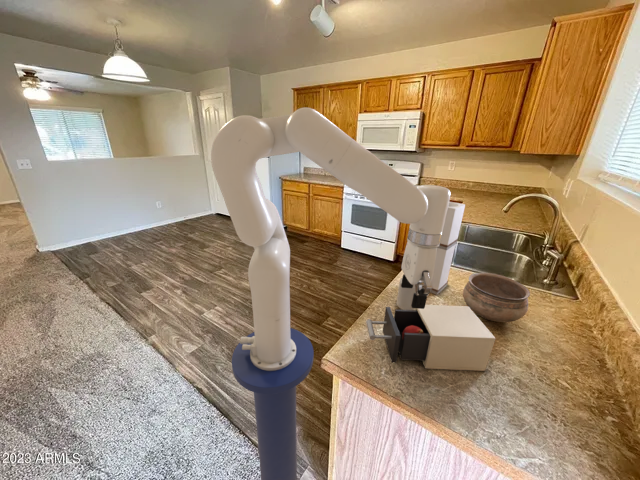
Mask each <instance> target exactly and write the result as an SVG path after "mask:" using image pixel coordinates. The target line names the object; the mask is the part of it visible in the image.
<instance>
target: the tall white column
mask: <svg viewBox="0 0 640 480" xmlns="http://www.w3.org/2000/svg"><path fill="white" fill-rule="evenodd" d="M465 208H466V204H465V203H459V202H453V201H449V205H448V209H447V214H446V218H445V223H444V227H443V231H442V236H441V240H440V245H439V247H437V251H436V260H435V266H434V272H433V277H432V280H431V284H432V289H431V291H430V293H431V294H434V295H439V294H440V293H441V292H442V291H443V290H444V289H445V288H446V287H447V286H448V283H449V276H450V271H451V266H452V261H453V258H454V253H455V249H456V247H457V244H458V239H459V235H460V230H461V225H462V221H463V218H464V213H465ZM421 282H423V281H421ZM423 287H424V286H422V288H421V289H423Z"/></svg>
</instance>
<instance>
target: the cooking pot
mask: <svg viewBox="0 0 640 480" xmlns="http://www.w3.org/2000/svg"><path fill="white" fill-rule="evenodd" d="M530 296H531V292H530V289H529V288H528V287H526V285H524V284H523V283H520V281H517V280H515V279H512V278H510V277H507V276H504V275H500V274H495V273H491V272H474V273H471V274H470V275H469V276H468V281H467V282H466V284H465V286H464V287H463V289H462V297H463V300H464V303H465V304H466V306H469V308H470V309H471V310H472V311H473V312H474V314H476V315H478V316H480V317H481V318H483V319H485V320H487V321H490V322H498V323H512V322H516V321H518V320H520V319H522V318H524V317H525V315H526V314H527V313H528V311H529V298H530Z"/></svg>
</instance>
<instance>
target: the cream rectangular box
mask: <svg viewBox="0 0 640 480" xmlns="http://www.w3.org/2000/svg"><path fill="white" fill-rule="evenodd" d="M415 310H417V311H418V313H419V315H420V317H421V319H422V321H423V322H424V324H425V326H426V328H427V330H428V332H429V334H430V336H431V337H430V342H429V346H428V351H427V355H426V360H425V361H424V360H421V362H422V364H423V367H424V368H425V369H432V370H434V369H435V370H457V371H476V372H477V371H481V372H486V369H487V367H488V364H489V360H490V357H491V354H492V351H493V348H494V344H495V342H496V337H495V336H494V335H493V333H492V332H491V331H490V330H489V329H488V327H487V326H486V325H485V324H484V323H483V322H482V320H481V319H480V318H479V317H478V316H477V314H476V313H475V312H474V311H472V310H471V309H470V308H469V306H467V305H449V304H447V305H446V304H445V305H444V304H425V308H424V309H418V308H415Z"/></svg>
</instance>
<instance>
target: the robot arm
mask: <svg viewBox="0 0 640 480" xmlns="http://www.w3.org/2000/svg"><path fill="white" fill-rule="evenodd" d="M211 146H212V147H211V151H210V161H211V167H212V171H213V175H214V177H215V180H216V182H217V185H218V188H219V189H220V192H221V195H222V198H223V201H224V203H225V207H226V209H227V212H228V214H229V217H230V219H231V222H232V225H233V227H234V230H235V233H236V235H237V237H238V238H239V240H240V241H241V242H242V243H243V244H245V245H246V246H248V247H252V248H253V250H254V251H253V253H252V256H251V257H250V260H249V264H248V269H247V276H248V277H247V278H248V284H249V289H250V296H251V307H252V316H253V317H252V319H253V330H254V331H253V332H254V333H255V336H253V337H246V336H241V337H240V340H239V343H240V344H243V346H242V350H251V351H250V358H251V361H252V363H253V364H254V365H255V366H256V367H257V368H259V369H262V370H266V371H274V370H279V369H282V368H284V367H286V366H288V365H289V364H290V363H291V362H292V361H293V360H294V358H295V356H296V345H295V343H294V341H293V340H292V339H291V336H290V328H291V289H290V288H291V287H290V278H291V277H290V276H291V274H290V273H291V248H290V244H289V240H288V238H287V237H288V236H287V233H286V231H285V228H284V224H283V222H282V218H281V215H280V213H279V211H278V210H279V209H278V208H277V206H276V205H275V203H274V202H272V201H271V200H269V199H268V198H266V196H265V193H264V190H263V186H262V182H261V180H260V178H259V176H258V173H257V169H256V165H257V162H258V161H259V160H261V159H263V158H269V157H274V156H281V155H287V154H288V155H289V154H295V153H298V152H299V153H301V154H302V155H303V156H305V158H307V159H309V161H311V162H313V163H315V164H316V165H318V166H319V167H320V168H322V169H323V170H324V171H326V172H327V173H328V174H330V175H331V176H333V177H334V178H335V179H337V180H338V181H340V182H341V183H342V184H343V185H345V186H346V187H348V188H350V189H351V190H353V191H355V192H357V193H358V194H361V195H362V196H363V197H364V198H366V199H367V200H369V201H370V202H371V203H373V204H374V205H375V206H377V207H379V208H380V209H381V210H383V211H384V212H385V213H387V214H388V215H390V216H391V217H392V218H394V219H395V220H396V221H398V222H399V223H402V224H406V225H409V228H408V233H407V239H406V241H407V242H406V245H405V249H404V252H403V258H402V262H401V267H400V268H401V271H402V273H403V274H402V277H403V278H402V277H401V278H402V283H401V287H402V288H413V284H415V292H416V293H414V295H413V300H412V305H411V306H412V308H418V309H424V308H425V305H427V300H428V297H429V295H430V293H431V292H430V291H431V289H432V284H431V280H432V277H433V272H434V266H435V260H436V251H437V247H439V245H440V240H441V236H442V231H443V227H444V223H445V218H446V214H447V209H448V205H449V202H450V200H451V195H452V194H451V191H450V189H449V188H448V187H445V186H441V185H434V184H422V185H416V184H413V183H412V182H411V181H410V180H409V179H407V178H406V177H405V176H404V175H402V174H400V173H399V172H398V171H397V170H395V169H394V168H393V167H391V166H390V165H388V164H387V163H385V162H384V161H383V160H381V159H380V158H379V157H377V156H376V155H375V154H374V153H373V152H372V151H370V150H369V149H367V148H365V147H364V146H363V145H362V144H360V143H359V142H357V140H355V139H354V138H352V137H351V136H350V135H348V134H347V133H346V132H344V131H343V130H342V129H340V127H338V126H337V125H336V124H334V123H333V122H332V121H330V120H329V119H328V118H327V117H325V116H324V115H323V114H322V113H320V112H319V111H317V109H314V108H312V107H300V108H297V109H296V110H294V111H293V112H292V113H290V114H285V115H279V116H271V117H262V118H258V117H256V116H253V115H249V114H243V115H238V116H236V117H233V118H232V119H230V120H228V122H226V123H225V124H224V125H223V126H222V127H221V128H220V129H219V131H218V132H217V133H216V135H215V137H214V140H213V142H212V145H211ZM419 280H421V281H423V282H419ZM419 285H421V286H424V287H423V289H420V290H419ZM246 344H251V345H246Z"/></svg>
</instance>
